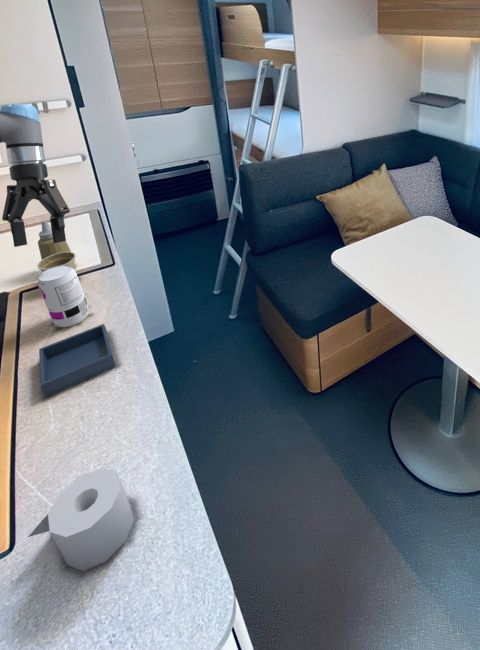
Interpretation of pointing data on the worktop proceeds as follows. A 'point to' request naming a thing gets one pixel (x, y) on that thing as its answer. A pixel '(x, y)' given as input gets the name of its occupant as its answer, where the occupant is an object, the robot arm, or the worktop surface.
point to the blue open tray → (75, 359)
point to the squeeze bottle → (50, 242)
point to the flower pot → (57, 261)
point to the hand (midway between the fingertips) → (40, 244)
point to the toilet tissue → (89, 519)
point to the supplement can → (63, 295)
